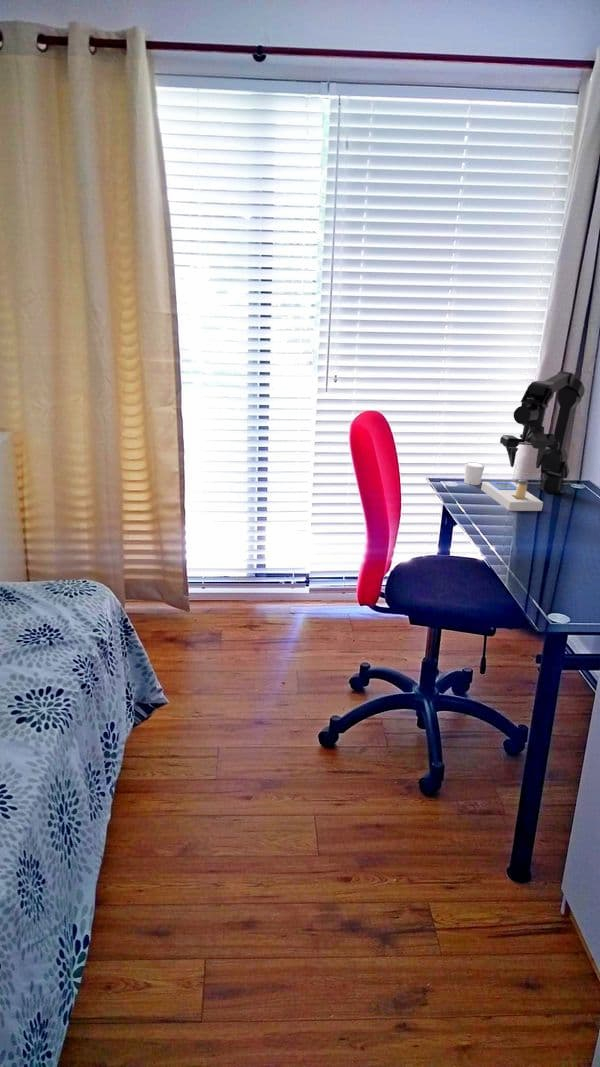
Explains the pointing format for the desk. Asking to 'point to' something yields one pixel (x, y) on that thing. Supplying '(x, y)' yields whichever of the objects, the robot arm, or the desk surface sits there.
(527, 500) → the block
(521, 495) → the grey-capped tan cylinder
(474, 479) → the white cylinder
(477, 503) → the desk surface
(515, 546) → the desk surface
